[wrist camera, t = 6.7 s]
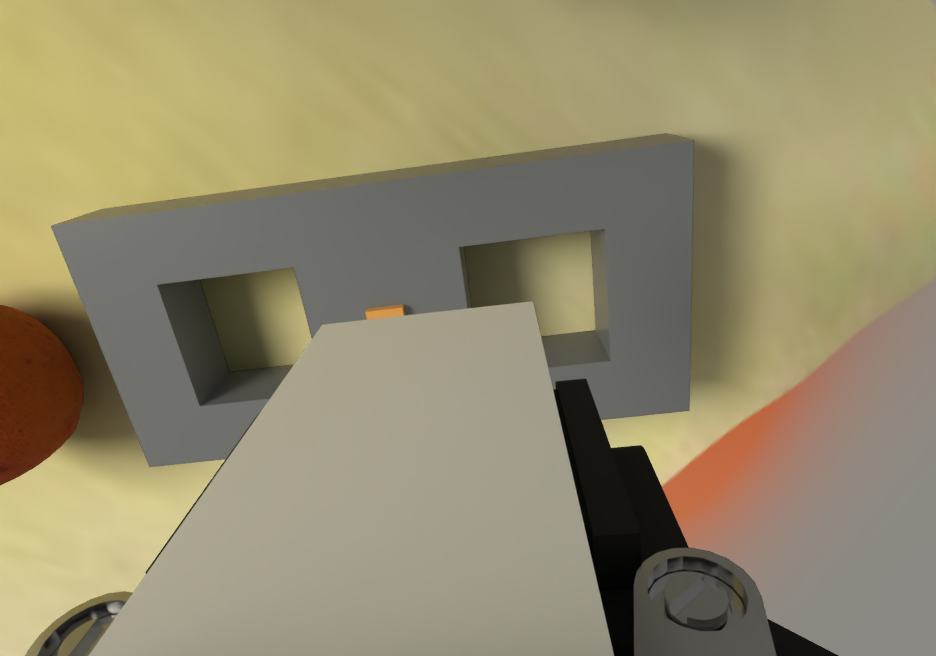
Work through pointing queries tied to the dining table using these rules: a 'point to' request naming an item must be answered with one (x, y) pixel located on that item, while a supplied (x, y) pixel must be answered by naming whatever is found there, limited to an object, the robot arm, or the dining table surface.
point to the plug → (386, 509)
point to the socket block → (389, 275)
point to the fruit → (34, 393)
